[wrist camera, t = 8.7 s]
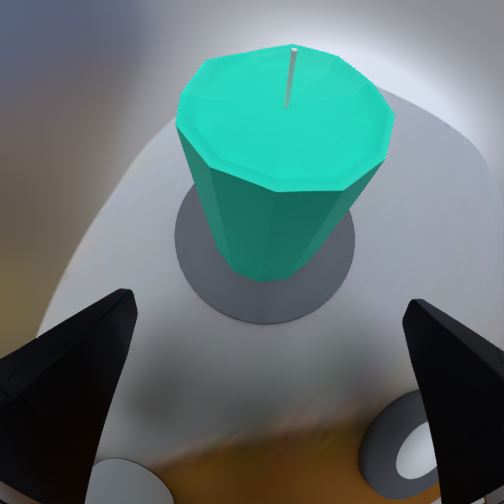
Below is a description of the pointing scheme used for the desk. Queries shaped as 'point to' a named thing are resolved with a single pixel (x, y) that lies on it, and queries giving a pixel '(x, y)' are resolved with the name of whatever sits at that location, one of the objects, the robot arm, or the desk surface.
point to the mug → (125, 484)
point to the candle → (280, 151)
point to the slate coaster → (250, 291)
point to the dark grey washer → (399, 450)
